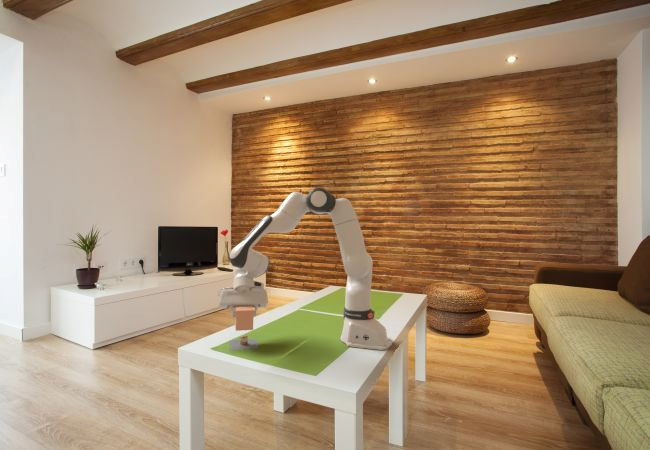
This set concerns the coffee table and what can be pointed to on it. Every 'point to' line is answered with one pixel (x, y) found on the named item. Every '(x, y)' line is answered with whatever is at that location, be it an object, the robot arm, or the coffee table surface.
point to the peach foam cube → (244, 318)
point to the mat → (236, 345)
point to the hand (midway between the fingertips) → (244, 316)
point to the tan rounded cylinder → (243, 340)
